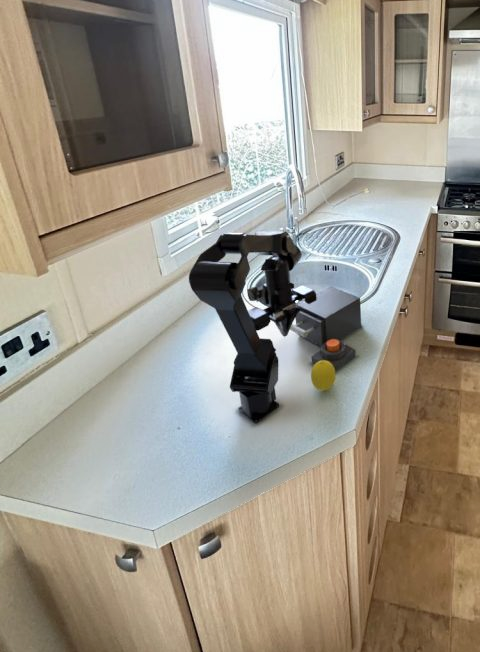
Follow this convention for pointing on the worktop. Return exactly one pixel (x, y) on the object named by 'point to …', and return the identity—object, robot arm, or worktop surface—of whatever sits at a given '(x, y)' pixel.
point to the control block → (335, 355)
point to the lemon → (323, 375)
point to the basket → (309, 327)
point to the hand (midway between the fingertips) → (284, 335)
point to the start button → (333, 345)
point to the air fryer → (335, 312)
